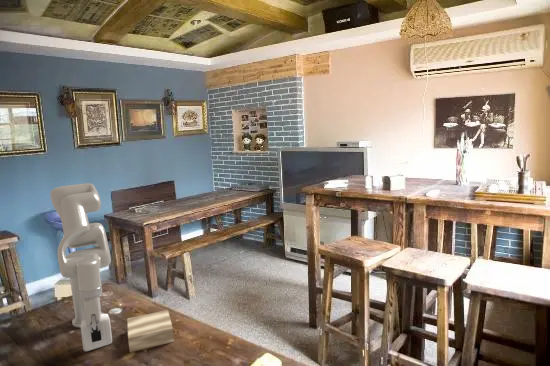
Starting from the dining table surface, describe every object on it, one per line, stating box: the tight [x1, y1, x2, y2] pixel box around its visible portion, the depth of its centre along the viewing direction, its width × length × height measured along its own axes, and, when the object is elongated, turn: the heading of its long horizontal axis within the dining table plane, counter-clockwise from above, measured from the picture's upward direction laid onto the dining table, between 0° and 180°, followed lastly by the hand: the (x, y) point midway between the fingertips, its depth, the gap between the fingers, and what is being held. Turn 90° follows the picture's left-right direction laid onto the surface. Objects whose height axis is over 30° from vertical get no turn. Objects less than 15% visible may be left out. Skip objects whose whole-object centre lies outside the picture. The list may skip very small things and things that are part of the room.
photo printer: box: [80, 313, 113, 352], centre depth 146 cm, size 10×4×12 cm, turn 123°
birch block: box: [126, 309, 175, 353], centre depth 151 cm, size 16×16×6 cm
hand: (97, 334), depth 145 cm, fingers open, 9 cm apart
